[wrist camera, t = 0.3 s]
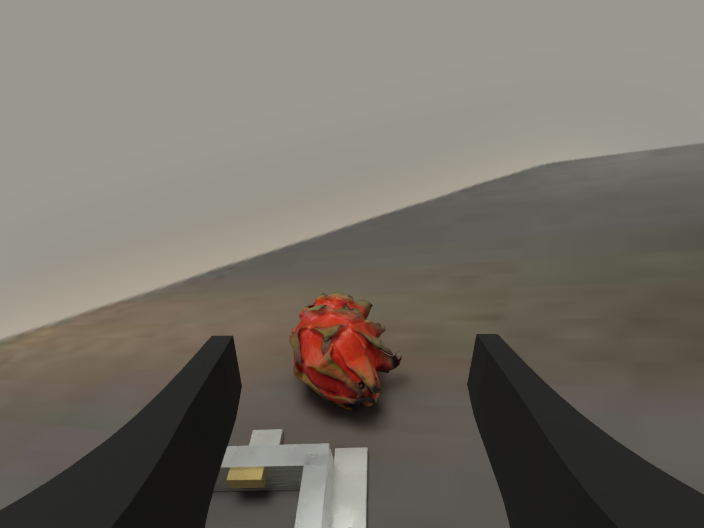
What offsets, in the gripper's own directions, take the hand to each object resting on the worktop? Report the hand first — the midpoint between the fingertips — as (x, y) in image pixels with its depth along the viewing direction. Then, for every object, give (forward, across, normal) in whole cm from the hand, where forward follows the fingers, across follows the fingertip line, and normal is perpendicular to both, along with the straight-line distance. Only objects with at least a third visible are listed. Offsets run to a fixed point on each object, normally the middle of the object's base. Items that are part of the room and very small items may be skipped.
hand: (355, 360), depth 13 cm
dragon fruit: (+19, 0, +20) cm, 27 cm away
